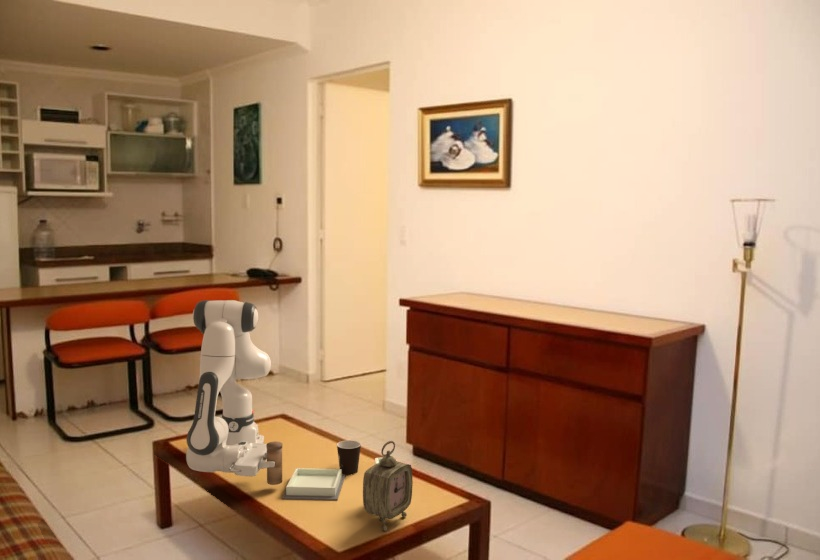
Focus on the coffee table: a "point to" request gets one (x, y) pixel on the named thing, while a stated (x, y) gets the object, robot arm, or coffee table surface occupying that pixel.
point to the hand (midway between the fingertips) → (277, 460)
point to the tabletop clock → (387, 487)
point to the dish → (314, 482)
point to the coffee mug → (349, 456)
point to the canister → (275, 454)
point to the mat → (303, 497)
